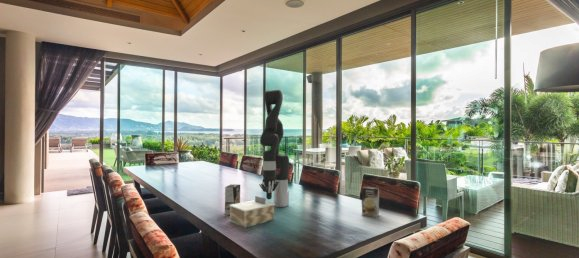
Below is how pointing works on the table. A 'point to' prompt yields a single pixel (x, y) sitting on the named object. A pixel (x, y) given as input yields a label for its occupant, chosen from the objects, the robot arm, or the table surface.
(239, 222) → the wooden box
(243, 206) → the lid
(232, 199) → the coffee box
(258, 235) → the table surface
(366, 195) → the coffee box
